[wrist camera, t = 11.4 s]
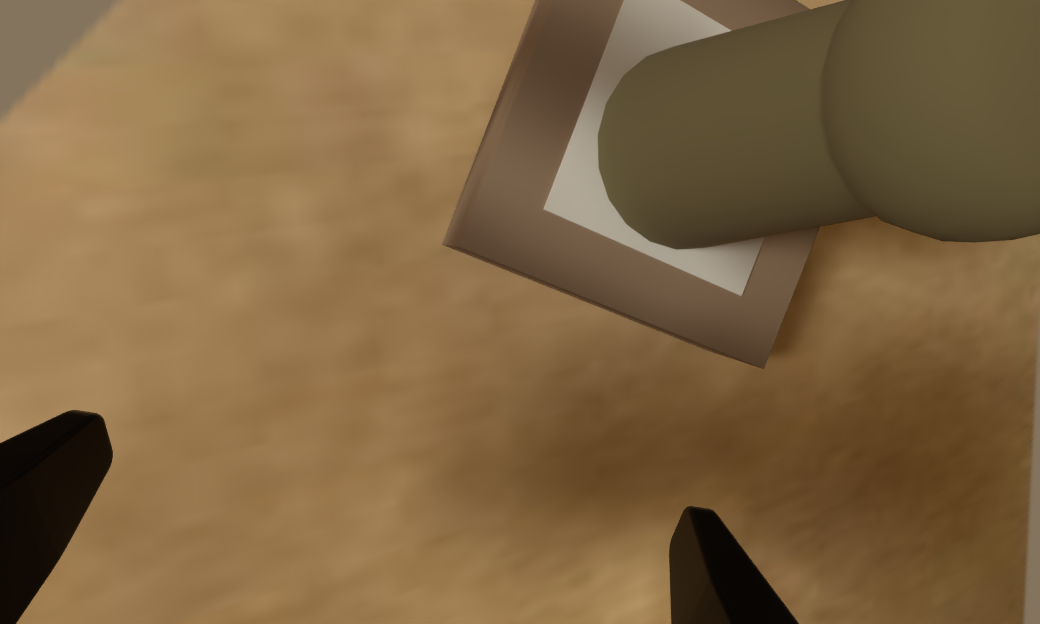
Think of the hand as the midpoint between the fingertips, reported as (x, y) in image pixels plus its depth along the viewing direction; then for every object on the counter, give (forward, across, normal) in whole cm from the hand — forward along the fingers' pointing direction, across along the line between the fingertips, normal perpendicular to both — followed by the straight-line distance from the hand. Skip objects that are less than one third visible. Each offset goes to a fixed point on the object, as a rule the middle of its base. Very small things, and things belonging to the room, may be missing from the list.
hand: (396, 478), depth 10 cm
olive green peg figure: (+13, -6, -2) cm, 14 cm away
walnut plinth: (+15, -5, -1) cm, 16 cm away
